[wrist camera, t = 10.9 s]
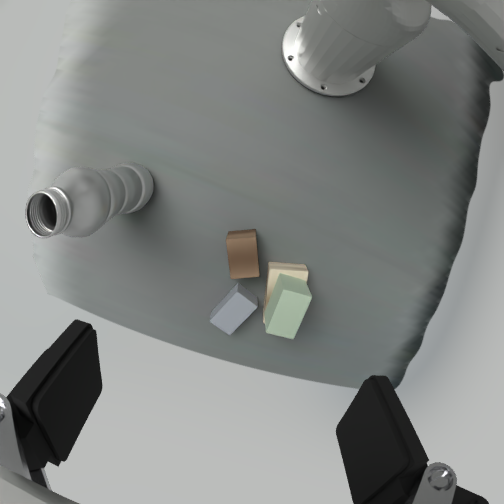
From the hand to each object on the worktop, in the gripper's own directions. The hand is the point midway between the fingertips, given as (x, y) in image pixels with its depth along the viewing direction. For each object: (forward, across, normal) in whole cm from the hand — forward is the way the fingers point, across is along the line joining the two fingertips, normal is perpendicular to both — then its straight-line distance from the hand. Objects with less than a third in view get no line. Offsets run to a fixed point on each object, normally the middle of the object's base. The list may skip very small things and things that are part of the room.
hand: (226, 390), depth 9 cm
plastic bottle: (+30, +15, -1) cm, 34 cm away
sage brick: (+28, -7, +9) cm, 30 cm away
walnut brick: (+30, -1, +5) cm, 31 cm away
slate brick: (+30, -1, +13) cm, 33 cm away
